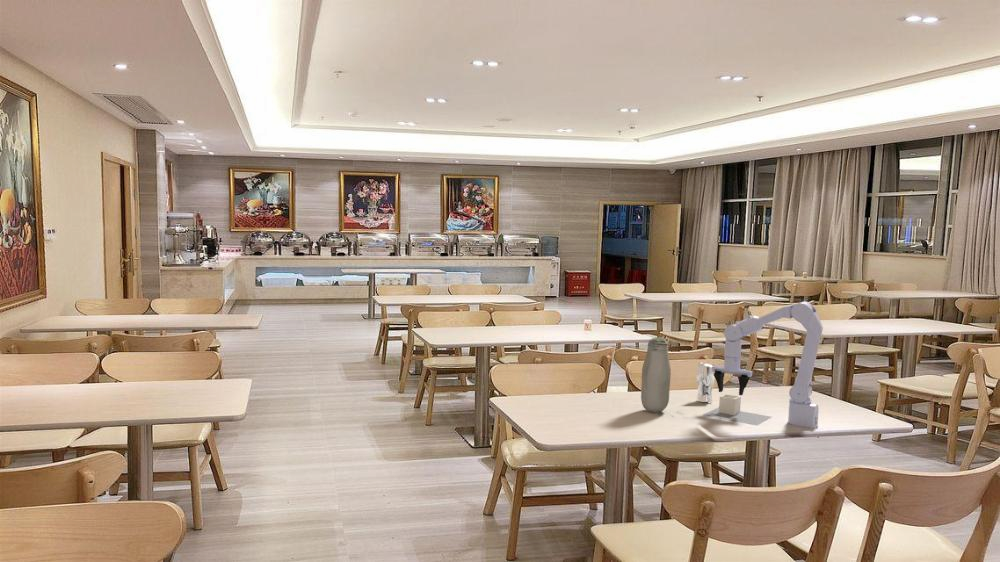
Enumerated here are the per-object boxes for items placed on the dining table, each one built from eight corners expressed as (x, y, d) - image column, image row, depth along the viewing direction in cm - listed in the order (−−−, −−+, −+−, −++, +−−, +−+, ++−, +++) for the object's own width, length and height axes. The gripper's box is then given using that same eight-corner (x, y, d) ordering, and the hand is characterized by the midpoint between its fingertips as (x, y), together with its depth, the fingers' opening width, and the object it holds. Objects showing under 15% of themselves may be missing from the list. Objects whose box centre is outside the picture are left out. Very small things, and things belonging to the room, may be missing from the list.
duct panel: (772, 420, 266) (772, 416, 266) (757, 428, 253) (757, 425, 253) (718, 410, 278) (719, 407, 278) (702, 418, 266) (702, 414, 265)
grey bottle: (657, 416, 266) (660, 340, 264) (635, 410, 274) (638, 336, 272) (673, 412, 272) (677, 338, 270) (652, 407, 280) (655, 334, 278)
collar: (740, 412, 271) (740, 396, 270) (734, 415, 266) (735, 399, 266) (724, 409, 274) (725, 393, 274) (718, 412, 270) (719, 396, 269)
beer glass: (699, 398, 297) (701, 362, 296) (716, 401, 293) (718, 364, 292) (692, 401, 292) (694, 364, 291) (708, 404, 287) (710, 366, 286)
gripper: (756, 358, 268) (754, 394, 269) (717, 353, 277) (716, 388, 277) (749, 360, 262) (747, 397, 263) (710, 355, 271) (708, 391, 272)
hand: (730, 393), depth 270 cm, fingers open, 7 cm apart
